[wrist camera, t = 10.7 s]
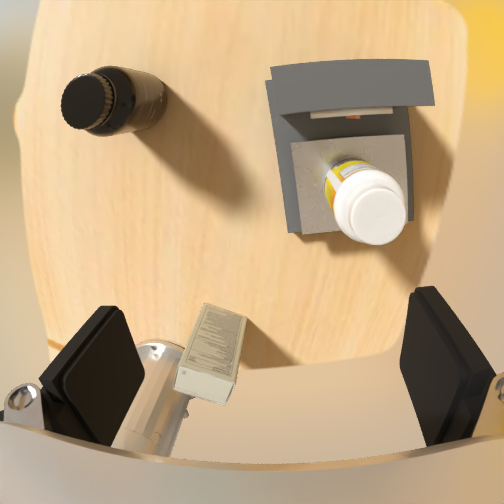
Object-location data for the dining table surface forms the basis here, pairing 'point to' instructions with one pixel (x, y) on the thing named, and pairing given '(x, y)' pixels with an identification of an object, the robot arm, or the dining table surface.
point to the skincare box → (212, 355)
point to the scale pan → (328, 154)
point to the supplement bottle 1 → (113, 101)
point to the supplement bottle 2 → (365, 201)
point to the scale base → (343, 109)
